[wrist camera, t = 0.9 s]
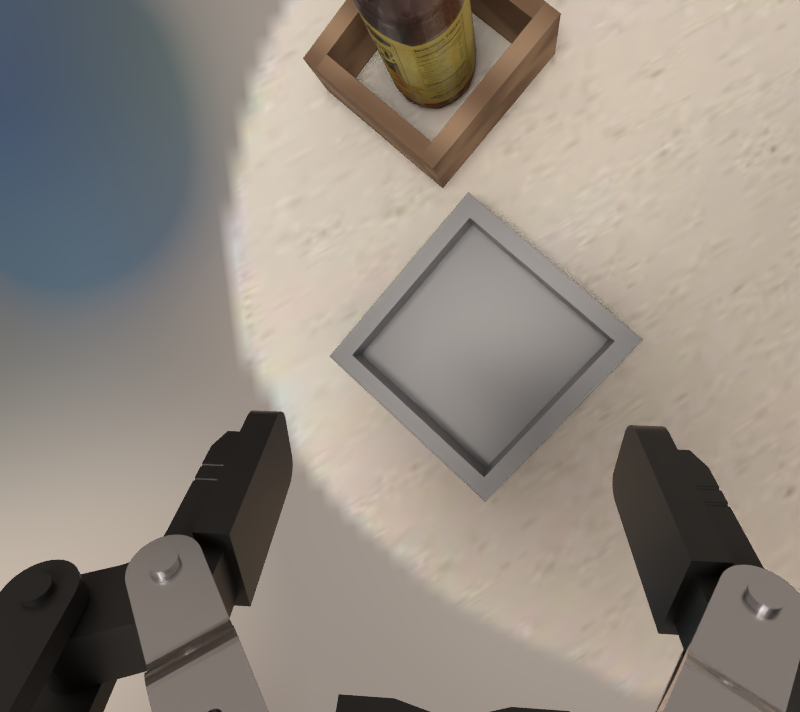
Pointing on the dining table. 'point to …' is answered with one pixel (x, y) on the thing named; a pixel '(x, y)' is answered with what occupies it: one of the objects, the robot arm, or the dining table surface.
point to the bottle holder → (440, 159)
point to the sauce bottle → (424, 46)
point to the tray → (483, 347)
